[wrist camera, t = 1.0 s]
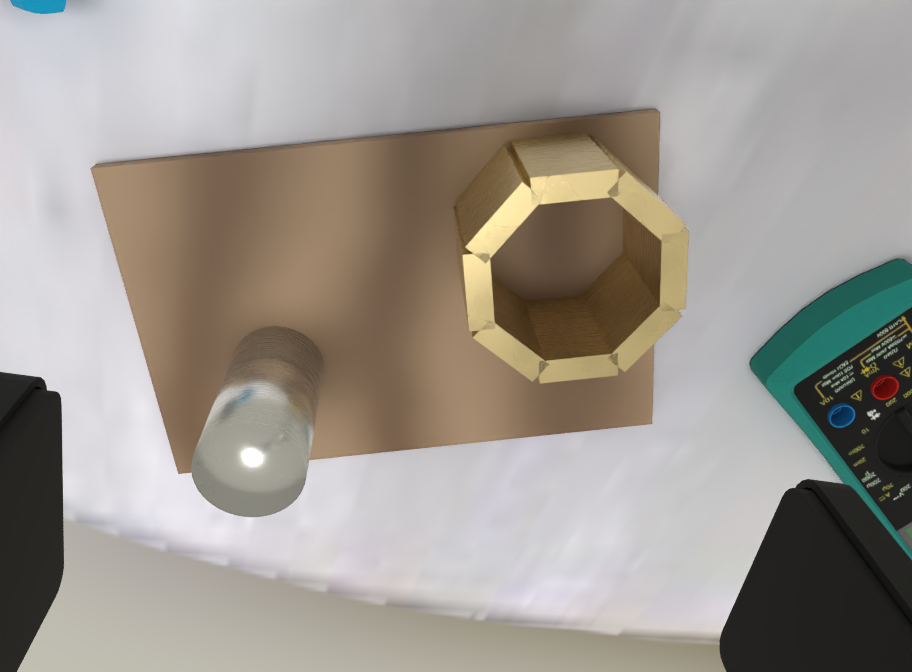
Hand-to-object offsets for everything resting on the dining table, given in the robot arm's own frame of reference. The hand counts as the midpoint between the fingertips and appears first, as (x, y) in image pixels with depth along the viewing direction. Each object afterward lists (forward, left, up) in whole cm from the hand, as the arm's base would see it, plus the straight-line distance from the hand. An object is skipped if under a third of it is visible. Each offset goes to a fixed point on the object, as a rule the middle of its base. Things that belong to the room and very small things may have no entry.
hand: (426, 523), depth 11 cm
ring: (-5, +4, -20) cm, 21 cm away
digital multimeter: (-20, +14, -22) cm, 33 cm away
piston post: (+6, +8, -21) cm, 23 cm away
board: (+1, +6, -21) cm, 22 cm away
